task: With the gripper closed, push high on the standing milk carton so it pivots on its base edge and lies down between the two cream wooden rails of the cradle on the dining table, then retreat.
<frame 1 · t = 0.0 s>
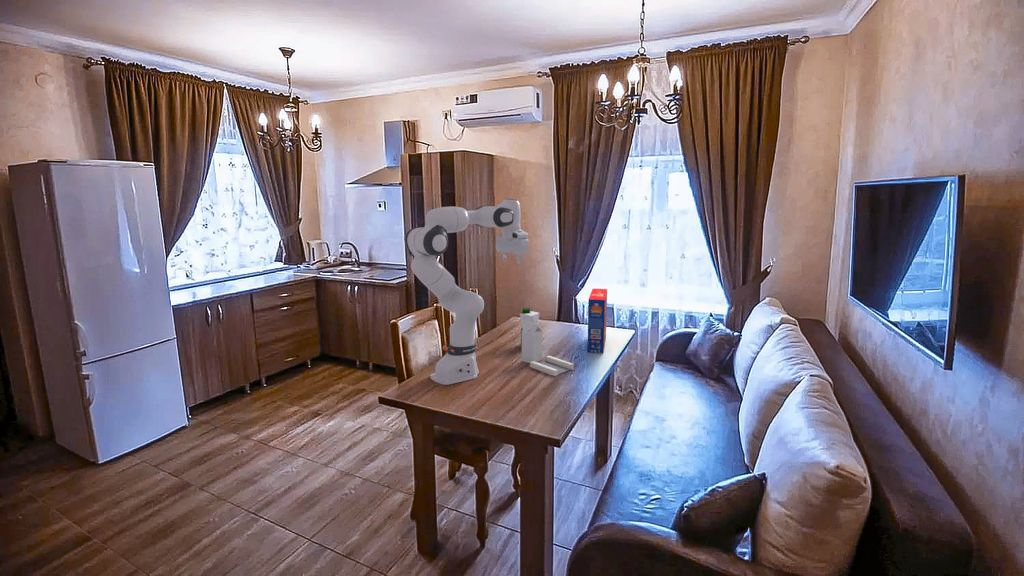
hand: (511, 262, 231), 48 cm above the table, fingers open, 8 cm apart
milk carton: (531, 361, 235), on the table
soya milk: (529, 345, 259), on the table
cradle: (551, 367, 225), on the table
pasta box: (597, 345, 259), on the table
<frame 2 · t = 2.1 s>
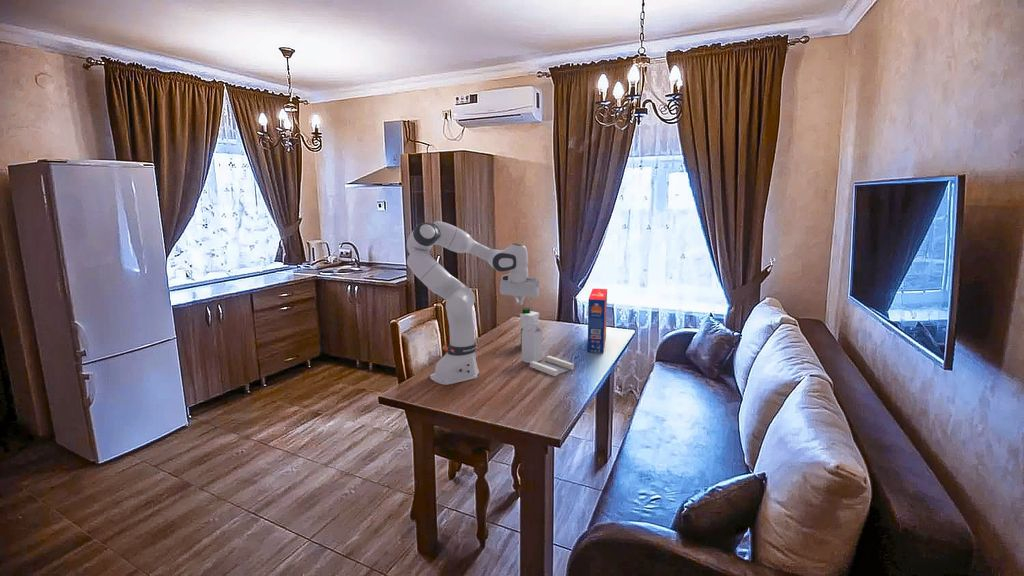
hand: (519, 304, 236), 27 cm above the table, fingers closed
nothing on the table moved.
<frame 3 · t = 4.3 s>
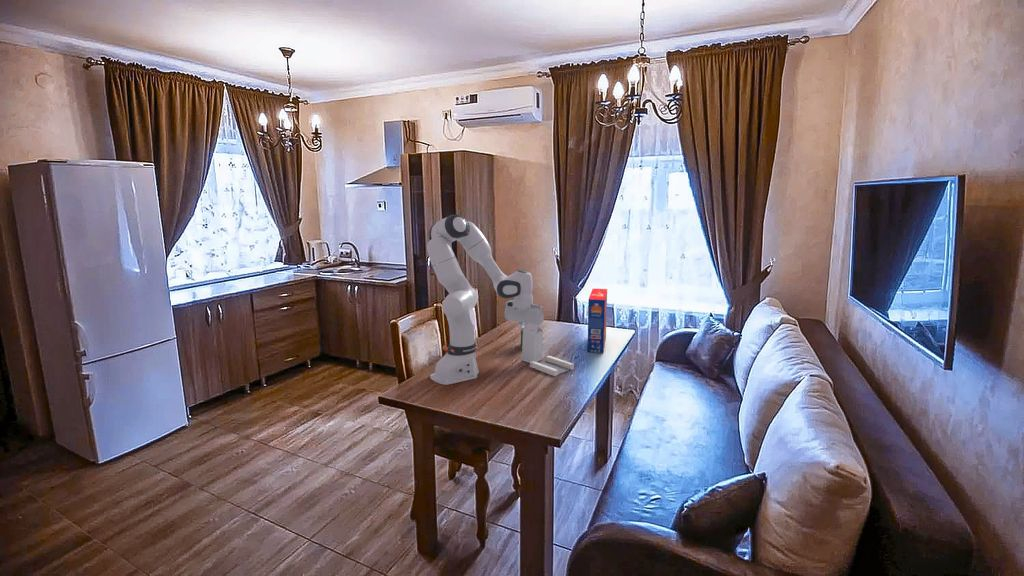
hand: (524, 330, 236), 14 cm above the table, fingers closed
milk carton: (531, 360, 235), on the table, touching gripper
everything else where it was.
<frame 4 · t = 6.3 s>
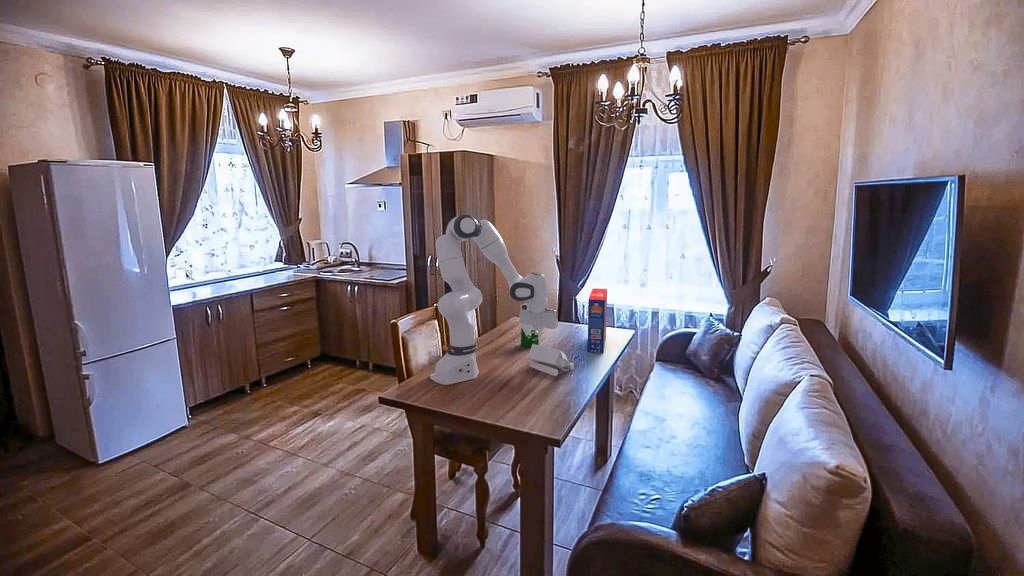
hand: (538, 334, 229), 14 cm above the table, fingers closed
milk carton: (532, 353, 229), point 6 cm above the table, touching cradle
everything else where it was.
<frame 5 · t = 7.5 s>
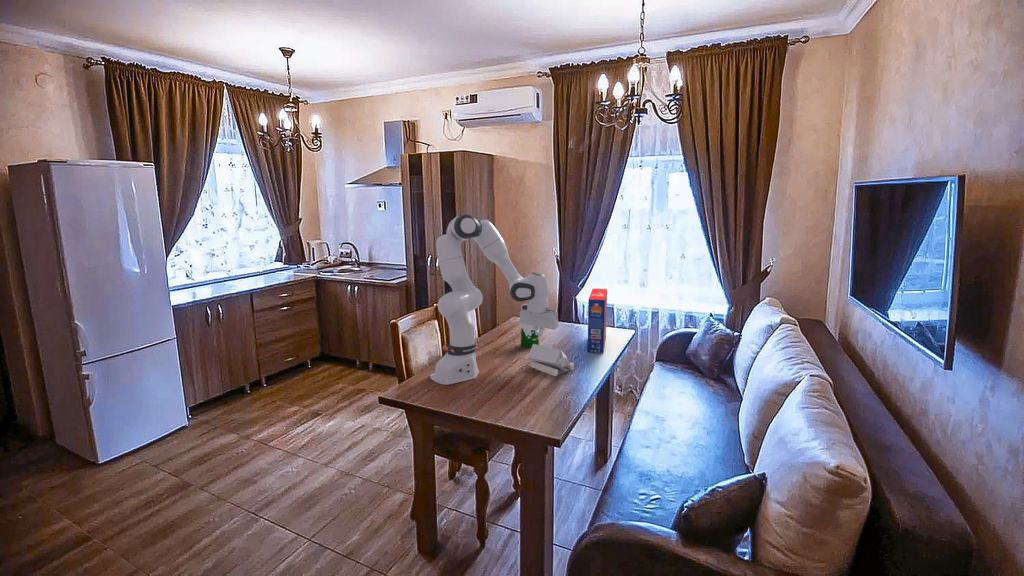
hand: (538, 335, 229), 14 cm above the table, fingers closed
nothing on the table moved.
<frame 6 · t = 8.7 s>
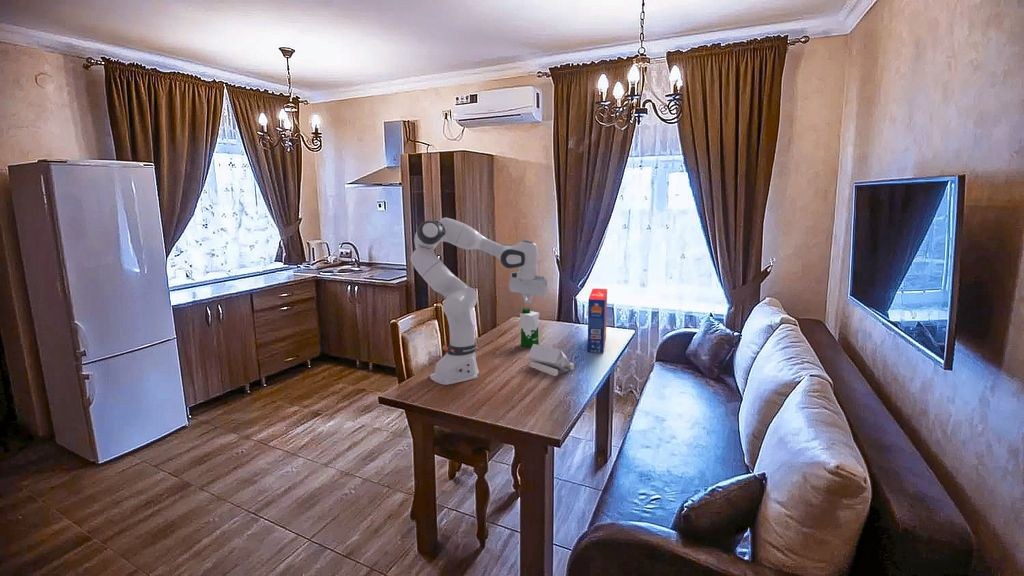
hand: (527, 302, 231), 29 cm above the table, fingers closed
nothing on the table moved.
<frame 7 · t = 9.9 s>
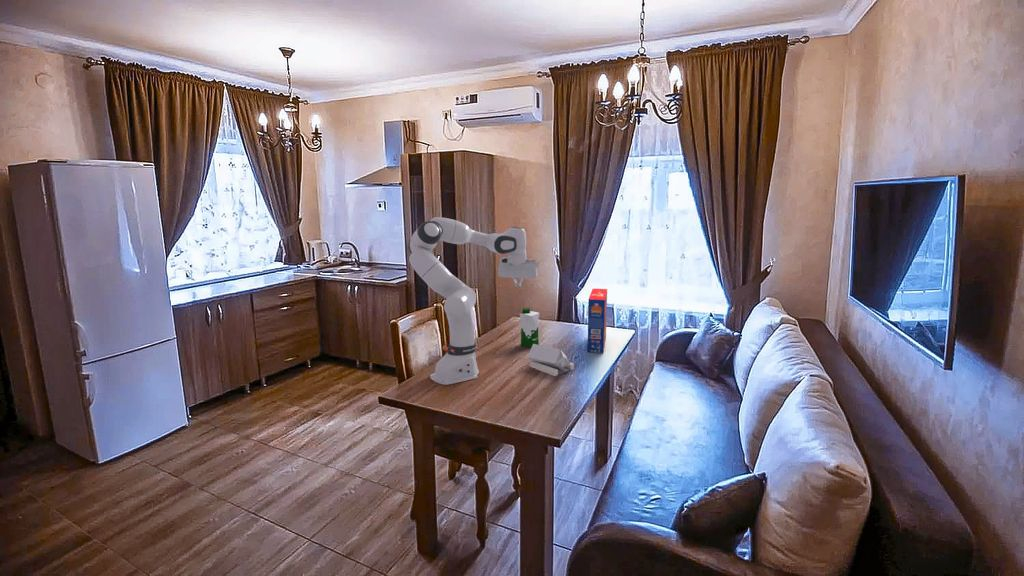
hand: (518, 286, 244), 34 cm above the table, fingers closed
nothing on the table moved.
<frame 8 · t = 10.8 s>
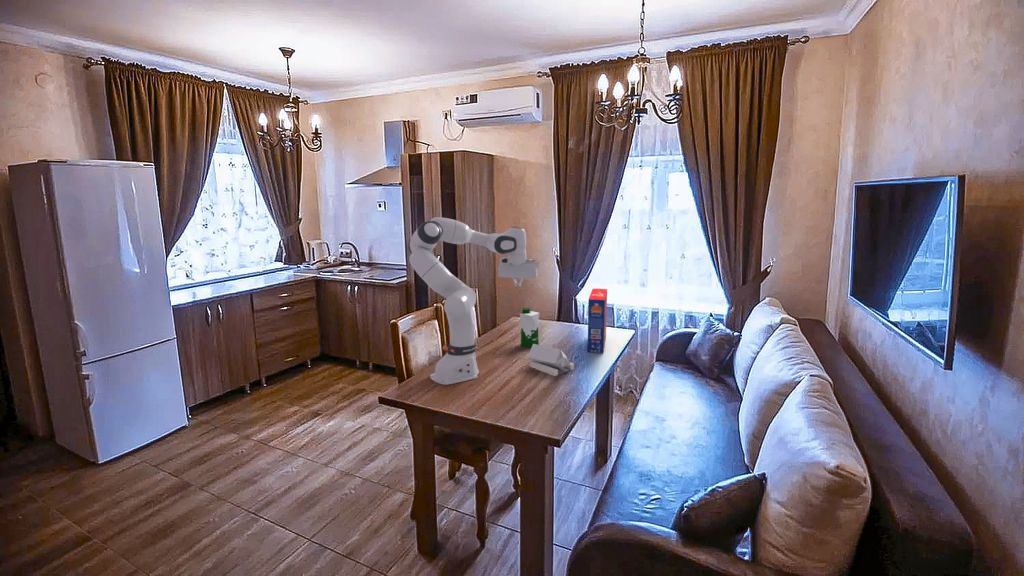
hand: (518, 286, 244), 34 cm above the table, fingers closed
nothing on the table moved.
at the end: milk carton tilted 90°; milk carton inside the target area (6.0 cm from its centre), point 5.3 cm above the table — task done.
